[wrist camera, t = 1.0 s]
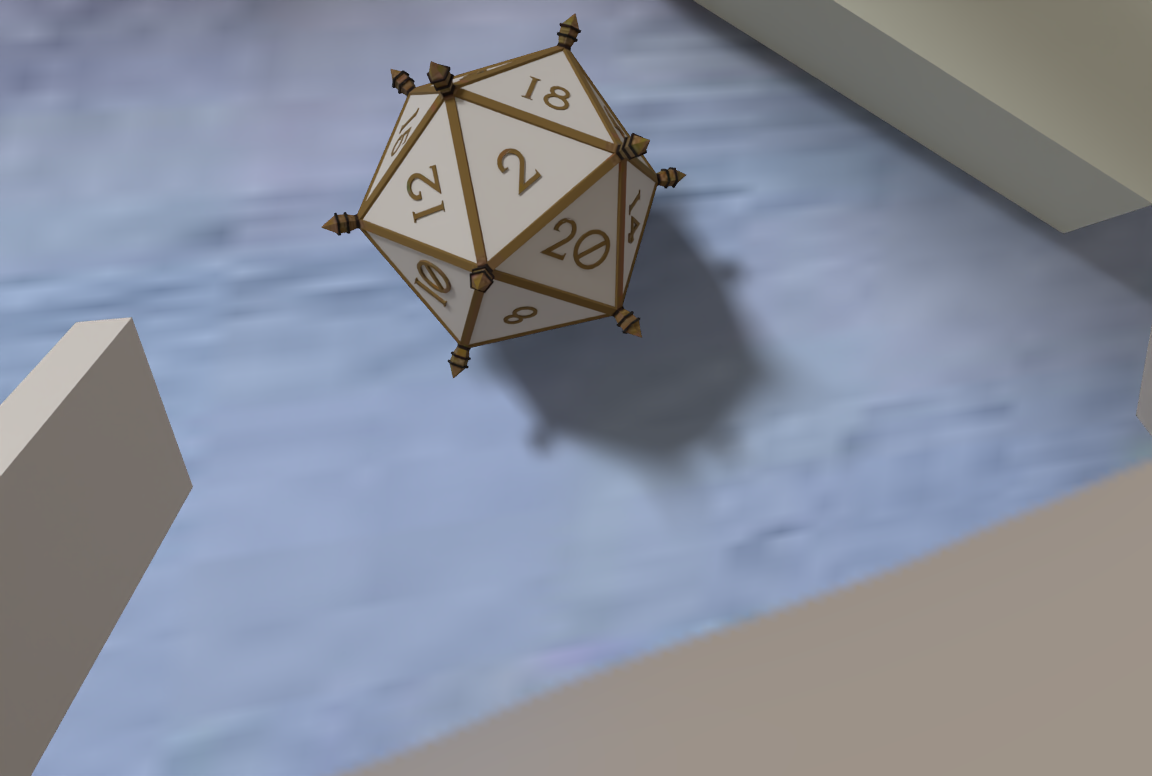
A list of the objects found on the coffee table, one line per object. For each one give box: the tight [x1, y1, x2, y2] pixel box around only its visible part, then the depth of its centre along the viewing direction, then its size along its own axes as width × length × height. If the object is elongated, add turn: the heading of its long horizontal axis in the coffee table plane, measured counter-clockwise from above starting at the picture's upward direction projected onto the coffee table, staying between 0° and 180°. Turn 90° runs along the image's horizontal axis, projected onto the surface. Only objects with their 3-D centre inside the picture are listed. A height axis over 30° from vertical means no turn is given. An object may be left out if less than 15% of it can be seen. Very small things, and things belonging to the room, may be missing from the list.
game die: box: [322, 14, 686, 378], centre depth 29 cm, size 9×8×10 cm
